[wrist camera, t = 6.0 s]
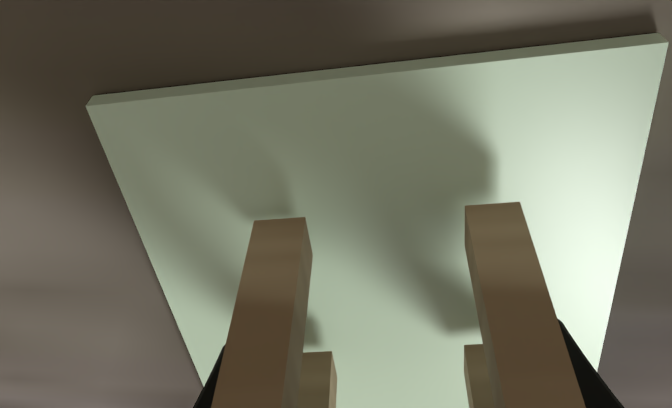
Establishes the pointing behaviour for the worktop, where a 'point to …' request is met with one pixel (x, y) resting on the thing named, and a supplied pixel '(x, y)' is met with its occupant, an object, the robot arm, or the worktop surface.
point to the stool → (479, 359)
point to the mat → (391, 196)
